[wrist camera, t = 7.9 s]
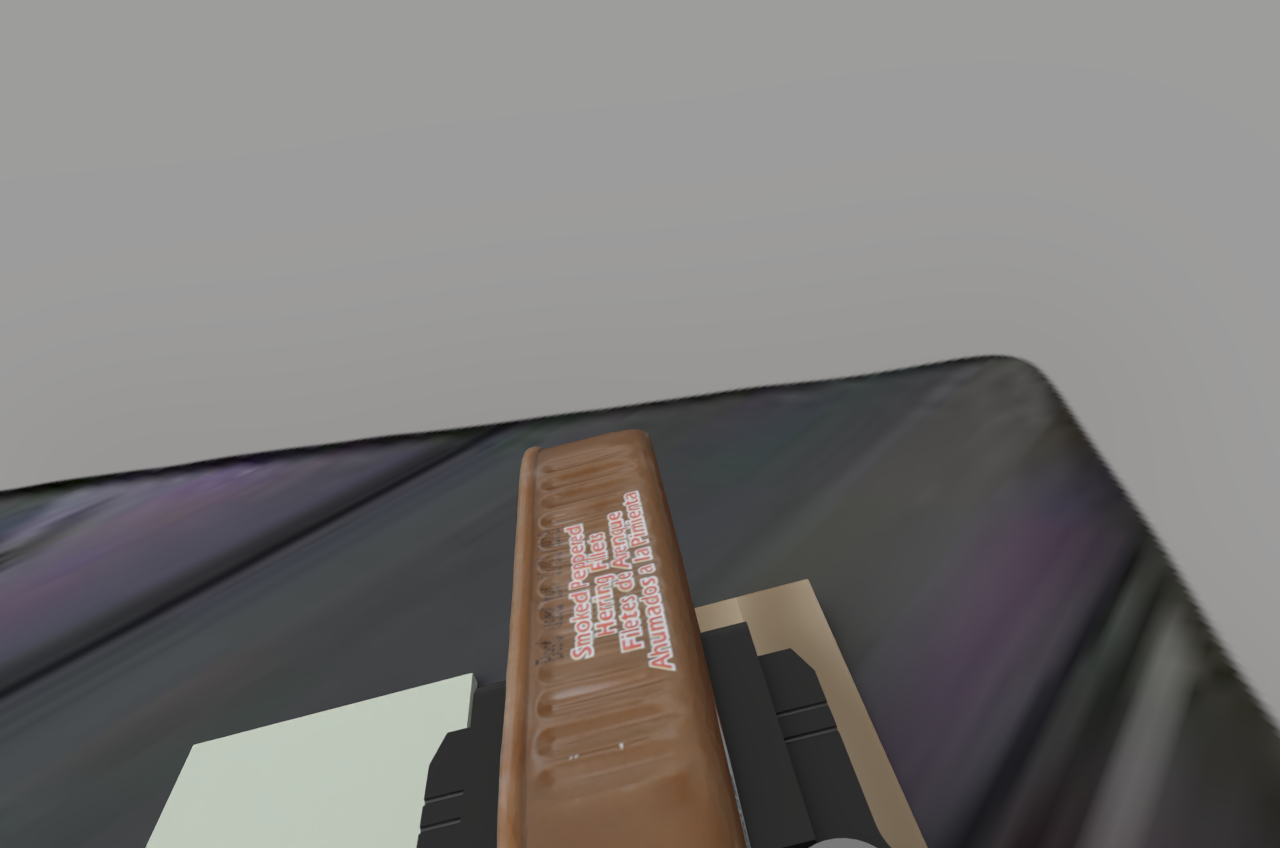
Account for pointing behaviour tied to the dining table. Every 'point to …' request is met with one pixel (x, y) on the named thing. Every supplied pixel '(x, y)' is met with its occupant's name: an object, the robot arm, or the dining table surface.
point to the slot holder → (802, 627)
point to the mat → (318, 776)
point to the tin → (607, 665)
